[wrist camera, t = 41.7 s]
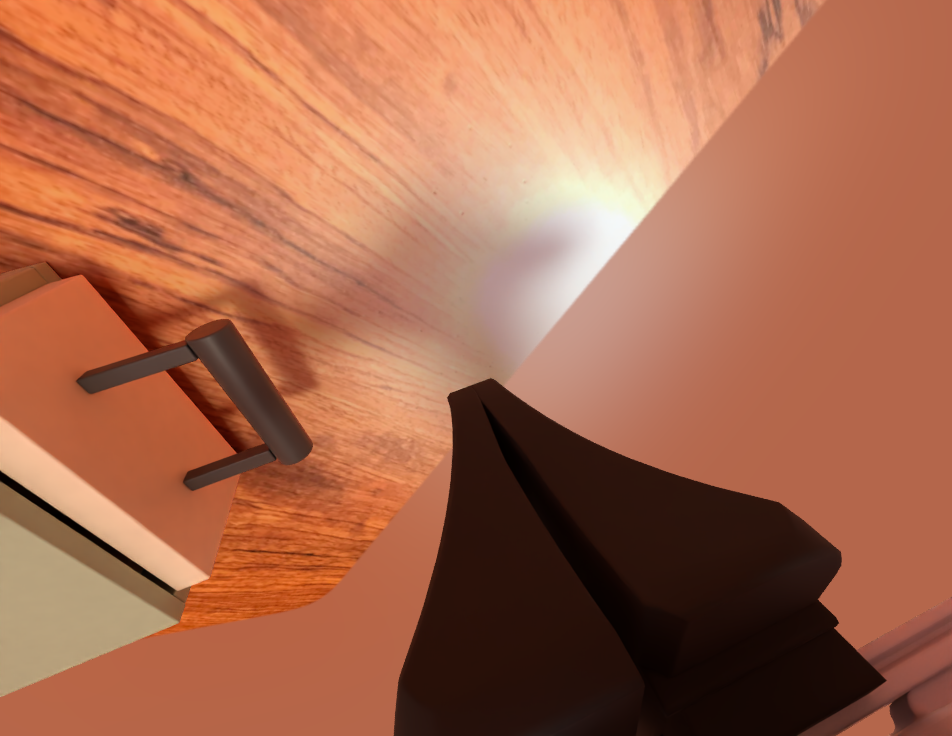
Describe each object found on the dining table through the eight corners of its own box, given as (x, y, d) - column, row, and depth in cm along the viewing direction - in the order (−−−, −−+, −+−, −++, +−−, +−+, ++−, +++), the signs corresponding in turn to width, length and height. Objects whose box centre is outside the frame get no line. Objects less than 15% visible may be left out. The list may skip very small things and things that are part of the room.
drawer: (218, 235, 14) (149, 290, 9) (335, 428, 19) (334, 529, 14) (-352, 395, 11) (-903, 599, 6) (-27, 560, 17) (-179, 736, 12)
